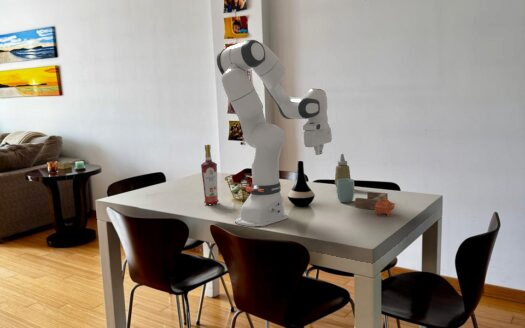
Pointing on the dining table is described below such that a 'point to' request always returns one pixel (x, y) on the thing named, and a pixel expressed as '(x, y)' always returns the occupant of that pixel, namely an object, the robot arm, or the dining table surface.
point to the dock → (370, 200)
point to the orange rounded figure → (384, 207)
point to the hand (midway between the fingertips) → (318, 154)
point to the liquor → (209, 178)
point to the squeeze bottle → (342, 170)
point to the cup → (345, 190)
